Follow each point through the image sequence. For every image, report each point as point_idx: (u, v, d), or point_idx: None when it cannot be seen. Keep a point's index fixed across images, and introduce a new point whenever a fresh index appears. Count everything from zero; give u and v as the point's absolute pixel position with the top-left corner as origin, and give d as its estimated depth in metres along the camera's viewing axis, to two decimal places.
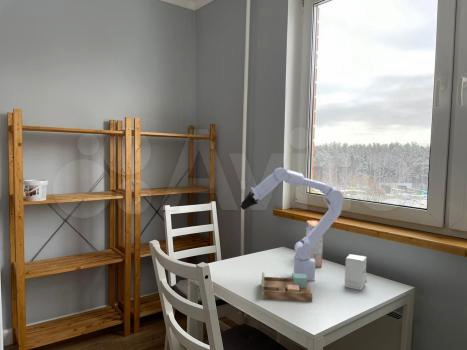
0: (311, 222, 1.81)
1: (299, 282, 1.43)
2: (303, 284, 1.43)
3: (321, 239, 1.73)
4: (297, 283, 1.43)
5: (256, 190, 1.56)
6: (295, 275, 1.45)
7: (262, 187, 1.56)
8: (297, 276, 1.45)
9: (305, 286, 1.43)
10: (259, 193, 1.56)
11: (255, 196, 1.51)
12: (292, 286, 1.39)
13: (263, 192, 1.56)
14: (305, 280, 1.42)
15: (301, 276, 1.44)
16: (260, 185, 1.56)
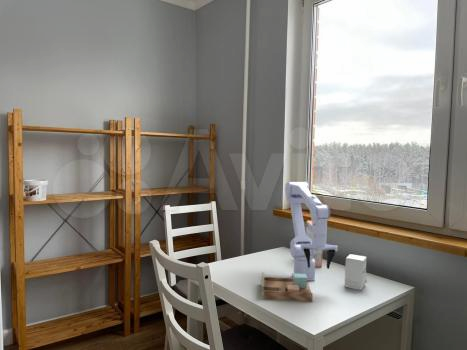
0: (311, 222, 1.81)
1: (299, 282, 1.43)
2: (303, 284, 1.43)
3: None
4: (297, 283, 1.43)
5: (325, 244, 1.41)
6: (295, 275, 1.45)
7: (326, 238, 1.42)
8: (297, 276, 1.45)
9: (305, 286, 1.43)
10: None
11: None
12: (292, 286, 1.39)
13: None
14: (305, 280, 1.42)
15: (301, 276, 1.44)
16: (324, 238, 1.41)
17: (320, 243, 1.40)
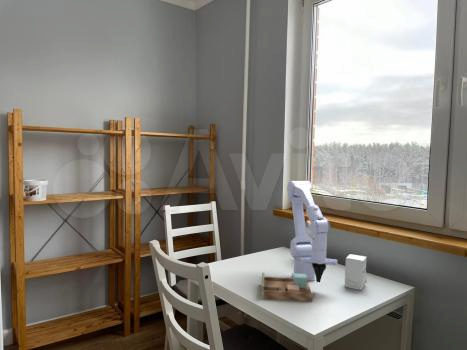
0: None
1: (299, 282, 1.43)
2: (303, 284, 1.43)
3: None
4: (297, 283, 1.43)
5: (325, 259, 1.42)
6: (295, 275, 1.45)
7: None
8: (297, 276, 1.45)
9: (305, 286, 1.43)
10: None
11: None
12: (292, 286, 1.39)
13: None
14: (305, 280, 1.42)
15: (301, 276, 1.44)
16: (324, 252, 1.41)
17: (320, 257, 1.41)
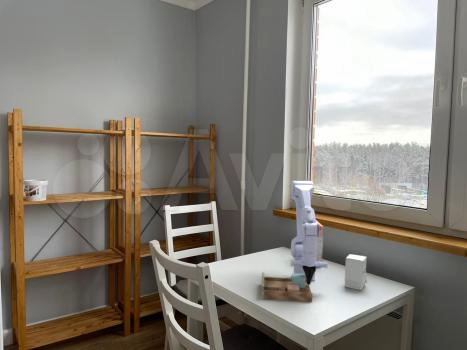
0: None
1: (298, 282, 1.43)
2: (302, 284, 1.43)
3: (321, 239, 1.73)
4: (295, 283, 1.43)
5: (315, 261, 1.42)
6: (293, 275, 1.45)
7: (316, 254, 1.43)
8: (296, 276, 1.45)
9: (303, 286, 1.43)
10: None
11: None
12: (292, 286, 1.39)
13: None
14: (303, 280, 1.42)
15: (299, 276, 1.44)
16: (314, 255, 1.42)
17: (310, 260, 1.41)
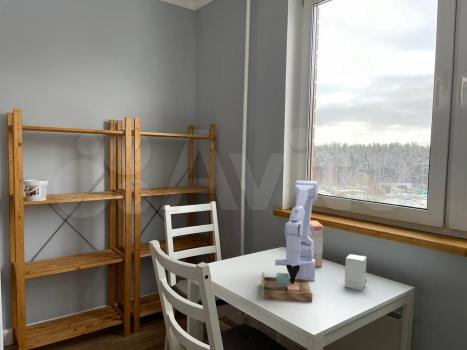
0: (311, 222, 1.81)
1: (281, 281, 1.43)
2: (286, 283, 1.43)
3: (321, 239, 1.73)
4: (279, 282, 1.43)
5: (299, 260, 1.43)
6: (277, 274, 1.46)
7: (299, 254, 1.43)
8: (280, 275, 1.45)
9: None
10: None
11: (310, 264, 1.44)
12: (292, 286, 1.39)
13: None
14: (287, 279, 1.43)
15: (283, 275, 1.45)
16: (298, 254, 1.42)
17: (293, 259, 1.42)
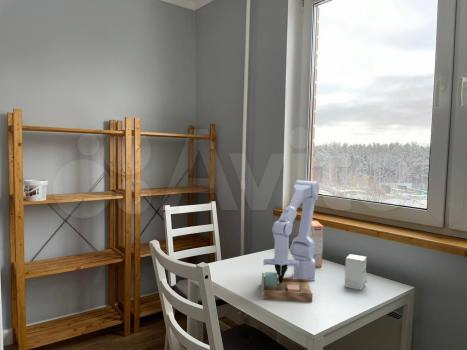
0: None
1: (270, 280, 1.44)
2: (274, 283, 1.44)
3: (321, 239, 1.73)
4: (267, 282, 1.44)
5: (287, 260, 1.43)
6: (266, 274, 1.46)
7: (287, 253, 1.44)
8: (268, 274, 1.46)
9: (275, 284, 1.44)
10: None
11: (298, 263, 1.44)
12: (292, 286, 1.39)
13: None
14: (275, 279, 1.43)
15: (272, 275, 1.45)
16: (286, 253, 1.43)
17: (281, 259, 1.42)
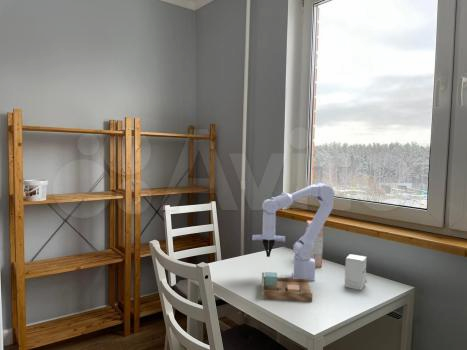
0: None
1: (270, 280, 1.44)
2: (274, 283, 1.44)
3: (321, 239, 1.73)
4: (267, 282, 1.44)
5: (274, 235, 1.55)
6: (266, 274, 1.46)
7: (274, 229, 1.56)
8: (268, 274, 1.46)
9: (275, 284, 1.44)
10: None
11: None
12: (292, 286, 1.39)
13: None
14: (275, 279, 1.43)
15: (272, 275, 1.45)
16: (273, 229, 1.55)
17: (269, 234, 1.54)
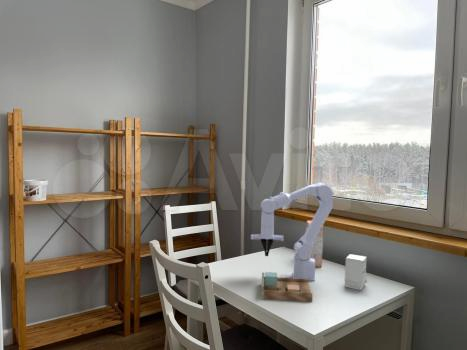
0: None
1: (270, 280, 1.44)
2: (274, 283, 1.44)
3: (321, 239, 1.73)
4: (267, 282, 1.44)
5: (272, 234, 1.56)
6: (266, 274, 1.46)
7: (273, 228, 1.57)
8: (268, 274, 1.46)
9: (275, 284, 1.44)
10: (273, 233, 1.58)
11: None
12: (292, 286, 1.39)
13: None
14: (275, 279, 1.43)
15: (272, 275, 1.45)
16: (271, 229, 1.56)
17: (267, 233, 1.55)
